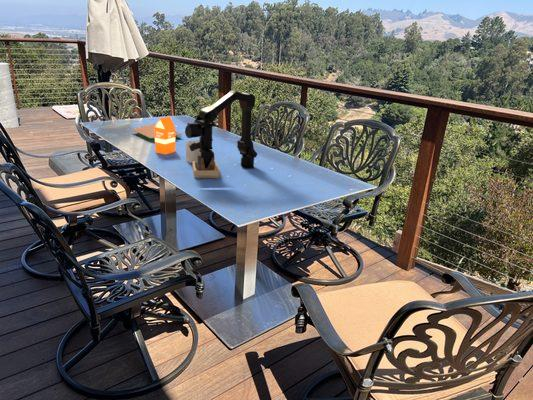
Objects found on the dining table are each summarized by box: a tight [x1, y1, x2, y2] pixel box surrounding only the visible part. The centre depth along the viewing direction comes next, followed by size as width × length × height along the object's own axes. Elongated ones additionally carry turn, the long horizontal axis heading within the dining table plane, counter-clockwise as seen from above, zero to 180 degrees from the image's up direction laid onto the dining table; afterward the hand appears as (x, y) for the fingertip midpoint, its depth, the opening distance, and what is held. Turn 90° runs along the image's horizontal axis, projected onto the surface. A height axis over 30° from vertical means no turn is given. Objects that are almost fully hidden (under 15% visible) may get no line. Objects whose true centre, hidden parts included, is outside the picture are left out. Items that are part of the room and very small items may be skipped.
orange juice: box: [154, 116, 176, 155], centre depth 223 cm, size 8×9×20 cm
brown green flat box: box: [132, 123, 183, 143], centre depth 257 cm, size 23×33×8 cm
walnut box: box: [197, 153, 216, 171], centre depth 193 cm, size 8×5×7 cm, turn 103°
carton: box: [192, 160, 221, 179], centre depth 195 cm, size 12×19×5 cm, turn 13°
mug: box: [185, 140, 201, 164], centre depth 211 cm, size 12×9×11 cm
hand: (205, 166), depth 194 cm, fingers closed on walnut box, 5 cm apart
